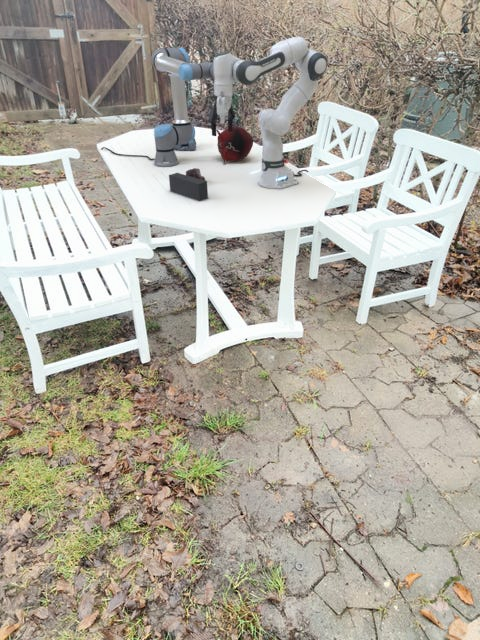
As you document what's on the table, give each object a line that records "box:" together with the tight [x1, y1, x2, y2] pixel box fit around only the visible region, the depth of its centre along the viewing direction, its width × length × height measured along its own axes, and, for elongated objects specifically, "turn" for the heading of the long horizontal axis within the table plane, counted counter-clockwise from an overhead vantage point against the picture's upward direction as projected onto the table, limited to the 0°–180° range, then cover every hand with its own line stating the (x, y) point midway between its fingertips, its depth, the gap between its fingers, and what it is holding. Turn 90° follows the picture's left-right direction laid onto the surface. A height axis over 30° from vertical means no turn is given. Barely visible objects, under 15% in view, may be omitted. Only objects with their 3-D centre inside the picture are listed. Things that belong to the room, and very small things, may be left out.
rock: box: [185, 167, 206, 181], centre depth 259 cm, size 12×9×10 cm
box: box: [168, 172, 209, 202], centre depth 242 cm, size 24×6×9 cm, turn 47°
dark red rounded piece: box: [216, 126, 254, 165], centre depth 296 cm, size 21×24×25 cm
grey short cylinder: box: [174, 138, 197, 151], centre depth 321 cm, size 17×18×20 cm
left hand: (222, 133), depth 255 cm, fingers open, 13 cm apart
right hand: (224, 121), depth 225 cm, fingers open, 8 cm apart
